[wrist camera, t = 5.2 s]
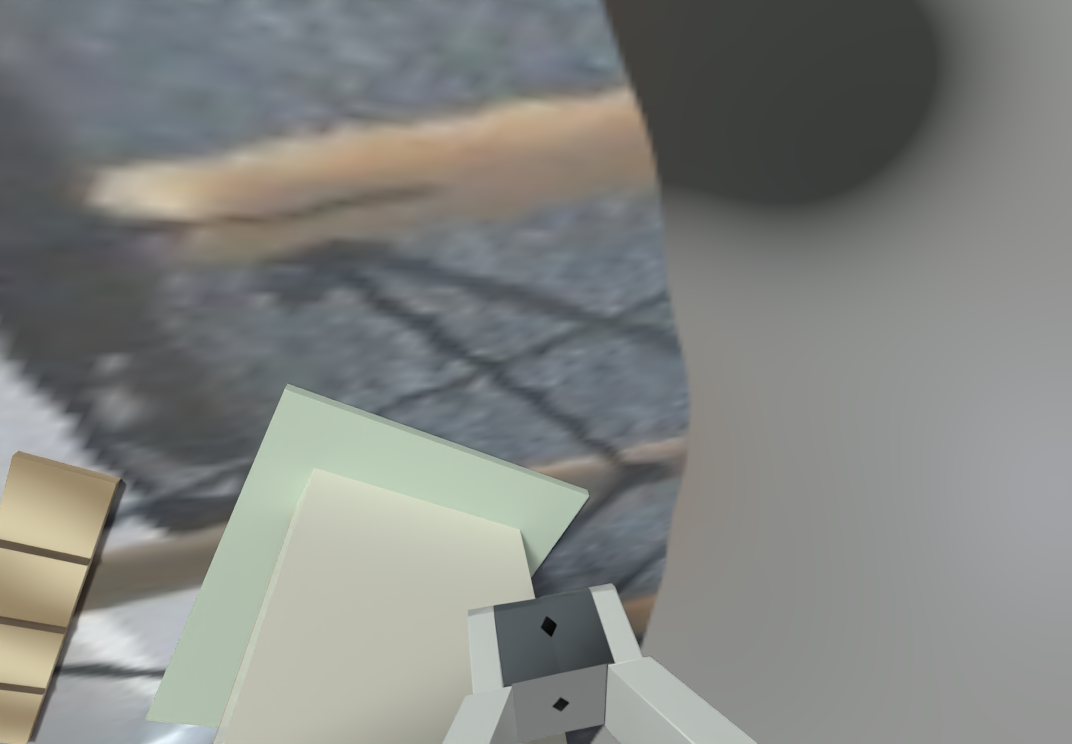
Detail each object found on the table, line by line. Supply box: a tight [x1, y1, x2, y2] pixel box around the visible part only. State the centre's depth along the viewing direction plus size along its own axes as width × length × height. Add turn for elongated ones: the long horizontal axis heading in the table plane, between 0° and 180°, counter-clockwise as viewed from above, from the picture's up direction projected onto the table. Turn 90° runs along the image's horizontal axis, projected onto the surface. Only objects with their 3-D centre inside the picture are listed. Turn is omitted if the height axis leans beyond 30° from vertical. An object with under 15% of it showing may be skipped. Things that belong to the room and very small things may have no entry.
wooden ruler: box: [0, 451, 120, 744], centre depth 20 cm, size 16×3×1 cm, turn 149°
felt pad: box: [145, 384, 589, 727], centre depth 23 cm, size 19×13×1 cm
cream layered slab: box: [213, 468, 567, 744], centre depth 16 cm, size 2×9×12 cm, turn 61°
